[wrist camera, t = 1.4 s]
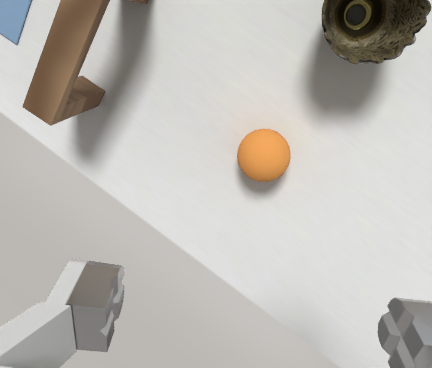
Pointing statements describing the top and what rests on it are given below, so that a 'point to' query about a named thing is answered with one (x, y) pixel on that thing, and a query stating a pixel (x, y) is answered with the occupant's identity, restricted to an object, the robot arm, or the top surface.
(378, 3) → the cup
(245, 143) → the ball
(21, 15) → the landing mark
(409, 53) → the top surface
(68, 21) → the bridge
